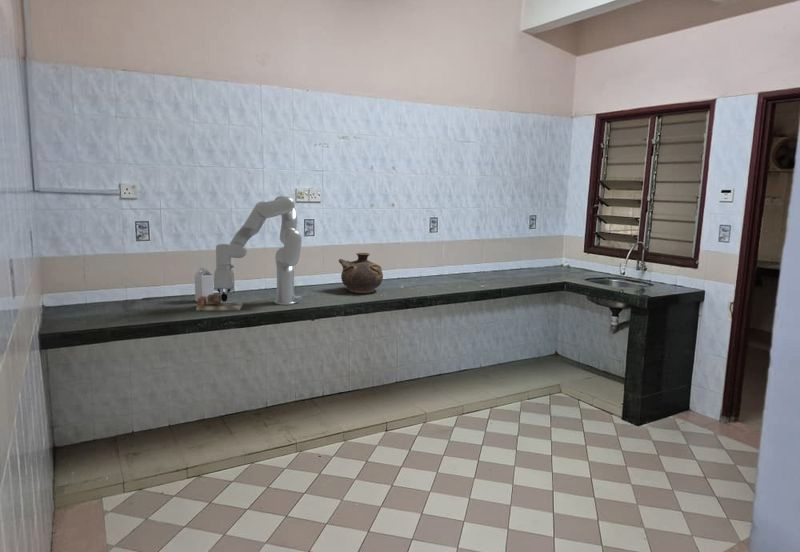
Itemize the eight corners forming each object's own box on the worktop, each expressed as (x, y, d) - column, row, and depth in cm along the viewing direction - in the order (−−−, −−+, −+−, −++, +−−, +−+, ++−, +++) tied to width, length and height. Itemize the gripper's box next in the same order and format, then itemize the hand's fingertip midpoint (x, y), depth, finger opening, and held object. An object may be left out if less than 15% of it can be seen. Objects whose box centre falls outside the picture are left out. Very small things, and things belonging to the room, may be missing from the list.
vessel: (331, 289, 349) (333, 251, 346) (365, 287, 368) (367, 251, 365) (357, 296, 329) (359, 255, 326) (391, 293, 348) (393, 255, 345)
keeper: (220, 303, 293) (220, 294, 292) (219, 305, 287) (218, 296, 286) (209, 303, 292) (209, 294, 291) (207, 305, 286) (207, 296, 285)
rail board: (242, 305, 298) (242, 295, 297) (239, 310, 287) (239, 299, 286) (200, 305, 294) (200, 295, 293) (196, 310, 283) (196, 300, 282)
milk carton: (206, 299, 310) (205, 266, 307) (213, 301, 306) (212, 268, 303) (195, 301, 305) (194, 267, 302) (202, 303, 300) (201, 269, 297)
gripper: (239, 266, 292) (239, 299, 295) (210, 266, 290) (211, 299, 293) (237, 268, 285) (237, 302, 288) (207, 268, 282) (208, 302, 285)
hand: (224, 301), depth 290 cm, fingers closed
